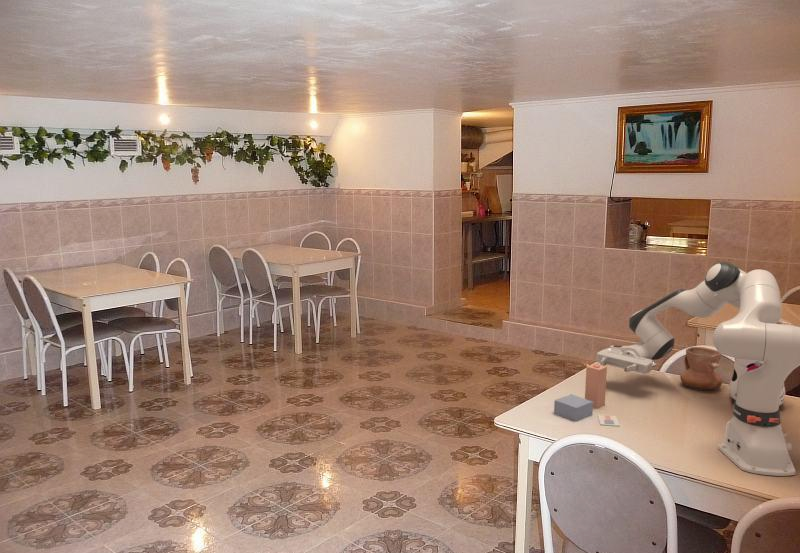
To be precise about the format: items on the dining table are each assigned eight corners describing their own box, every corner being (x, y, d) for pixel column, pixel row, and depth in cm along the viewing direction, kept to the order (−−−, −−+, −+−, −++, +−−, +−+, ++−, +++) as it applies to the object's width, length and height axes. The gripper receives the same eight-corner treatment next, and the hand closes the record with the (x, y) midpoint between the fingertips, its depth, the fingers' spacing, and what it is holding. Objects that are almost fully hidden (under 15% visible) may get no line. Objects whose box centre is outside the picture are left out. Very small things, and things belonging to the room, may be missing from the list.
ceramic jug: (732, 393, 241) (735, 355, 239) (697, 395, 238) (700, 357, 236) (701, 378, 258) (704, 343, 256) (668, 380, 256) (671, 344, 254)
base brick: (592, 415, 221) (593, 401, 220) (575, 422, 216) (576, 407, 215) (570, 407, 228) (571, 394, 227) (553, 413, 223) (554, 400, 222)
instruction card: (619, 426, 211) (619, 425, 211) (600, 425, 213) (600, 423, 212) (616, 416, 219) (616, 415, 219) (597, 415, 220) (597, 414, 220)
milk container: (771, 416, 219) (776, 365, 216) (719, 401, 232) (723, 353, 229) (791, 404, 230) (797, 354, 227) (741, 390, 243) (745, 344, 240)
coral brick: (604, 404, 230) (606, 365, 227) (597, 408, 226) (599, 368, 224) (592, 401, 233) (594, 362, 231) (584, 404, 230) (586, 365, 227)
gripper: (658, 372, 239) (640, 381, 230) (607, 359, 254) (588, 368, 244) (659, 355, 238) (641, 364, 229) (608, 344, 253) (589, 352, 243)
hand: (613, 366), depth 237 cm, fingers open, 8 cm apart
